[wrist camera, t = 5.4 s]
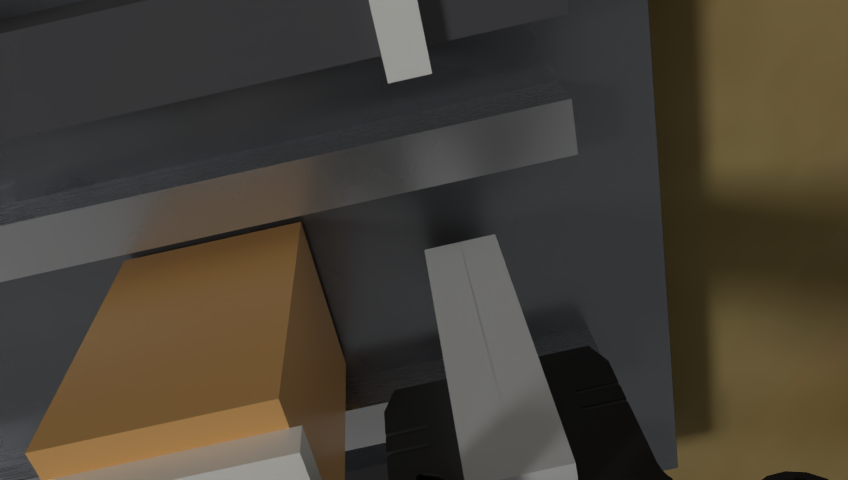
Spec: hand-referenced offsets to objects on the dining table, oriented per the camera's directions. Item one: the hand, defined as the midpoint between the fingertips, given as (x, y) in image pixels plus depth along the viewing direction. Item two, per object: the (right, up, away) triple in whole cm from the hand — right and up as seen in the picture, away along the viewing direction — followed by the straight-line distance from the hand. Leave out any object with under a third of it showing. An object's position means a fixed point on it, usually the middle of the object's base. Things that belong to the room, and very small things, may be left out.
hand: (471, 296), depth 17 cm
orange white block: (-5, -1, +1) cm, 6 cm away
